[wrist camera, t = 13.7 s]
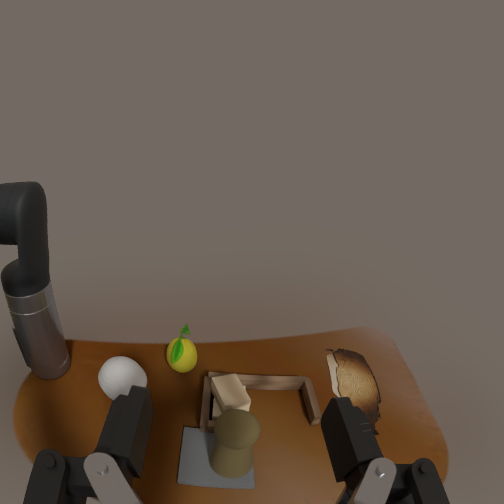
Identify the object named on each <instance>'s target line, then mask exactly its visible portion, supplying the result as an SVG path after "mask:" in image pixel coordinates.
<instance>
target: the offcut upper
mask: <svg viewBox="0 0 504 504" xmlns="http://www.w3.org/2000/svg"><path fill="white" fill-rule="evenodd" d="M211 391H212V393H213V395H214V398H215V400H216V402H217V404H218V406H219V409H220V411H221V413H223V412H225V411H228V410H231V409H242V410H245V411H249V406H250V402H251V399H250V398H249V396H248V394H247V392H246V391H245V389H244V387H243V385H242V384H241V382H240V380H239V378H238V377H237V375H236V373H235V374H230V375H224V376H218V377H212V380H211Z"/></svg>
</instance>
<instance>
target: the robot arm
mask: <svg viewBox="0 0 504 504" xmlns="http://www.w3.org/2000/svg"><path fill="white" fill-rule="evenodd" d="M0 244H3V245H18V257H19V258H18V259H16V260H14V261H13V262H11V263H9V264H8V265H7V266H6V267H5V268H4V269H3V270H2V273H1V281H2V286H3V290H4V294H5V297H6V301H7V305H8V308H9V311H10V314H11V317H12V321H13V325H12V329H13V332H14V334H15V337H16V340H17V342H18V345H19V347H20V350H21V352H22V355H23V357H24V360H25V362H26V364H27V366H28V367H30V368H31V370H32V372H33V373H34V374H35V375H36V376H37V377H39V378H42V379H55V378H58V377H60V376H62V375H63V374H64V373H66V372H67V370H68V369H69V367H70V363H71V360H70V356H69V353H68V350H67V347H66V343H65V340H64V336H63V333H62V329H61V326H60V322H59V318H58V314H57V310H56V305H55V301H54V296H53V291H52V286H51V281H50V275H49V250H48V235H47V203H46V196H45V193H44V190H43V188H42V186H41V185H40V184H39V183H37V182H16V183H5V184H0ZM152 420H153V404H152V399H151V394H150V389H149V388H146V387H141V386H136V385H132V386H131V388H130V391H129V394H128V396H127V395H123V394H120V395H119V396H118V397H117V398H116V399H115V400H114V401H113V402H112V404H111V407H110V410H109V413H108V415H107V418H106V421H105V424H104V426H103V429H102V432H101V435H100V438H99V441H98V444H97V447H96V449H95V451H94V452H93V453H92V454H90V455H88V456H86V457H66V456H62V455H61V454H60V453H59V452H57V451H55V450H53V449H44V450H42V451H40V452H39V453H38V454H37V456H36V459H35V462H34V465H33V469H32V472H31V475H30V479H29V482H28V486H27V490H26V494H25V498H24V502H23V504H86V499H87V497H98V499H99V501H100V503H101V504H143V502H142V501H141V499H140V498H139V496H138V495H137V493H136V492H135V490H134V489H133V487H132V483H133V478H134V477H135V478H139V479H141V474H142V468H143V463H144V458H145V453H146V448H147V443H148V438H149V434H150V429H151V425H152ZM321 428H322V432H323V435H324V439H325V442H326V446H327V450H328V453H329V457H330V460H331V464H332V467H333V471H334V475H335V478H336V482H342V481H345V483H346V486H345V487H344V489H343V491H342V493H341V495H340V496H339V498H338V500H337V502H336V504H449V500H448V498H447V495H446V492H445V490H444V487H443V485H442V482H441V479H440V477H439V474H438V472H437V470H436V467H435V465H434V463H433V462H432V461H431V460H429V459H426V458H420V459H418V460H416V461H415V462H414V463H413V464H394V463H393V462H392V461H391V460H389V459H387V458H384V456H383V455H382V453H381V450H380V448H379V445H378V443H377V441H376V438H375V436H374V433H373V431H372V430H371V426H370V424H369V422H368V419H367V417H366V415H365V413H364V412H363V411H362V410H361V409H360V408H359V407H358V406H354V407H353V405H352V402H351V400H350V398H349V397H336V398H332V399H331V400H330V402H329V404H328V406H327V407H326V409H325V411H324V413H323V415H322V417H321Z"/></svg>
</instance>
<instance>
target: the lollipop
mask: <svg viewBox="0 0 504 504" xmlns="http://www.w3.org/2000/svg"><path fill="white" fill-rule="evenodd" d="M98 378H99V384H100V386H101V388H102V389H103V391H104V392H105V393H106V395H107V396H108V397H110V398H111V399H113V400H115V399H116V398H117V397H118V396H119V395H120V394H123V395H127V396H128V394H129V391H130V388H131V386H132V385H136V386H141V387H146V385H147V377H146V374H145V372H144V370H143V369H142V368H141V367H140V365H139V364H138V363H137V362H135V361H134V360H132V359H130V358H128V357H123V356H117V357H113V358H110V359H109V360H107V361H106V362H105V363H104V364H103V366H102V368H101V370H100V372H99V376H98Z"/></svg>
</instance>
